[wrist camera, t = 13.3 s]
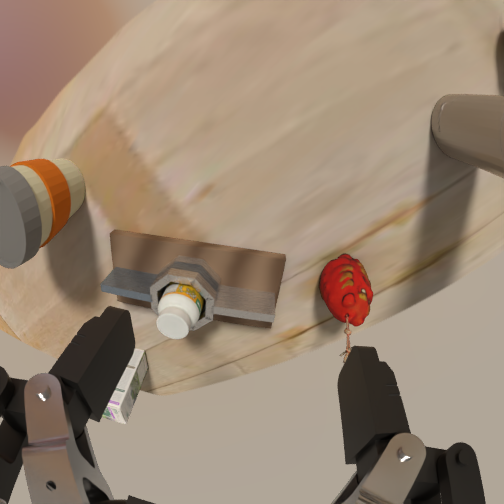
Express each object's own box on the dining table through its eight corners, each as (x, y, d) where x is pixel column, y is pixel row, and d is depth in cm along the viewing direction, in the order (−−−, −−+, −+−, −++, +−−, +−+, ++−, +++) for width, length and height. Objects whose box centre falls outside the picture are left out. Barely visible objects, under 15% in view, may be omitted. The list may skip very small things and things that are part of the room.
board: (285, 254, 39) (285, 259, 38) (270, 322, 45) (270, 328, 43) (114, 229, 39) (109, 233, 38) (121, 295, 45) (117, 300, 44)
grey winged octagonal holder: (279, 270, 39) (280, 291, 34) (269, 319, 43) (268, 342, 38) (113, 245, 39) (96, 261, 34) (119, 292, 43) (105, 311, 38)
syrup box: (119, 343, 50) (88, 399, 37) (146, 349, 50) (119, 409, 37) (124, 362, 53) (98, 416, 40) (149, 368, 53) (127, 425, 40)
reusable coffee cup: (106, 172, 36) (36, 207, 22) (80, 238, 41) (22, 288, 27) (51, 133, 33) (-23, 153, 20) (31, 199, 38) (-31, 234, 25)
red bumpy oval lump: (371, 281, 40) (405, 353, 27) (331, 304, 43) (349, 380, 29) (350, 242, 38) (384, 310, 25) (306, 268, 40) (320, 344, 27)
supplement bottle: (165, 275, 40) (141, 316, 32) (195, 260, 39) (175, 302, 30) (186, 303, 42) (168, 347, 34) (216, 290, 41) (203, 336, 32)
